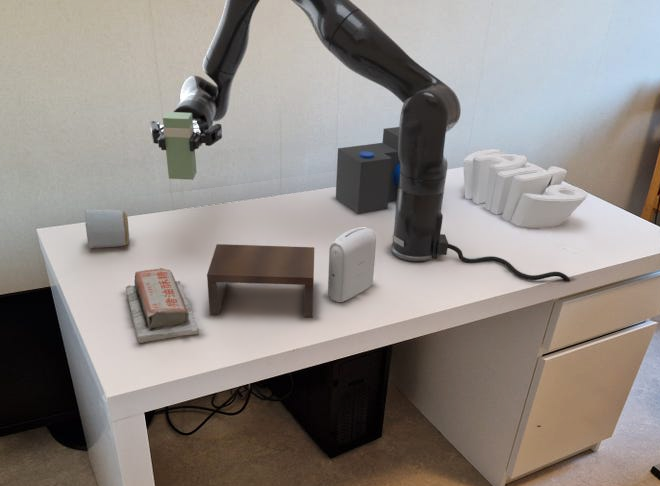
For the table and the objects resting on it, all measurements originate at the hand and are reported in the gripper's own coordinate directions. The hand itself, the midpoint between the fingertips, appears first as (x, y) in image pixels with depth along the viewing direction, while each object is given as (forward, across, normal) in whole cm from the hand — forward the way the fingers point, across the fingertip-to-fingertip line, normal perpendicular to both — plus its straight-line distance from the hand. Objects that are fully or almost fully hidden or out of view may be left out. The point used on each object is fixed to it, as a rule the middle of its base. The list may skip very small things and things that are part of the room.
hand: (177, 145), depth 119 cm
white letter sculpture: (-37, +74, +24) cm, 86 cm away
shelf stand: (+13, +16, +23) cm, 31 cm away
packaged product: (+20, -1, +24) cm, 31 cm away
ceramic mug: (-8, -18, +24) cm, 31 cm away
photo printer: (+9, +32, +24) cm, 41 cm away
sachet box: (-3, 0, +6) cm, 7 cm away
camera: (-37, +45, +24) cm, 63 cm away
